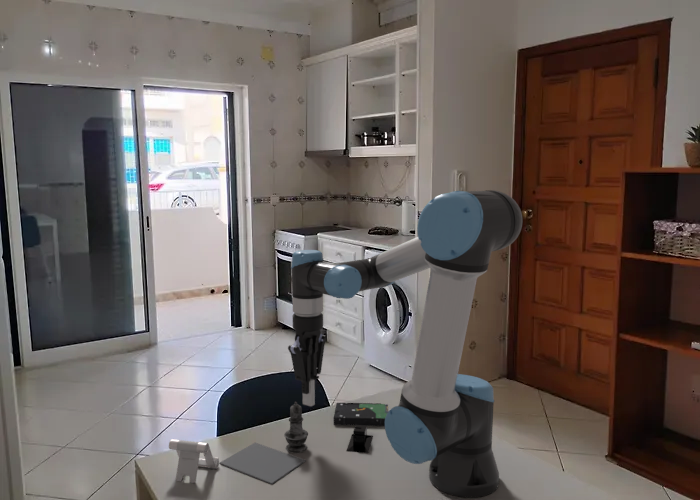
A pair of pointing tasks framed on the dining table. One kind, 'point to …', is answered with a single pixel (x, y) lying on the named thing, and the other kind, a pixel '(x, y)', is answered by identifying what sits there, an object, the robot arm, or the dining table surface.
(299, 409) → the dark grey turned piece
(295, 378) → the robot arm
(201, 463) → the portable electronic device stand
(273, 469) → the mat
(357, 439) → the black boxy piece
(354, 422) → the disk drive
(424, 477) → the dining table surface
